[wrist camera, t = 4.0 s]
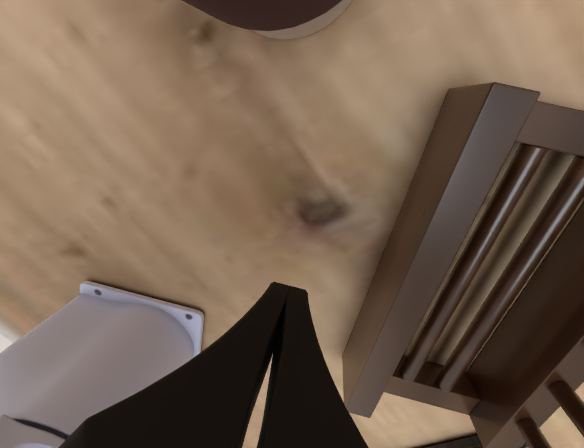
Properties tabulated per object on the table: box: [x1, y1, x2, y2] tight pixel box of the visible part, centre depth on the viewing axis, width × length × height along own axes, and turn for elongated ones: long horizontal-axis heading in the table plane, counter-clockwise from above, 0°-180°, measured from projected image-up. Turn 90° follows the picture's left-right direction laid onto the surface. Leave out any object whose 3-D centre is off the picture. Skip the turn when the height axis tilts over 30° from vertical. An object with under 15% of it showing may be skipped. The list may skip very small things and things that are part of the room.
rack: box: [342, 82, 584, 448], centre depth 13 cm, size 10×18×7 cm, turn 168°
